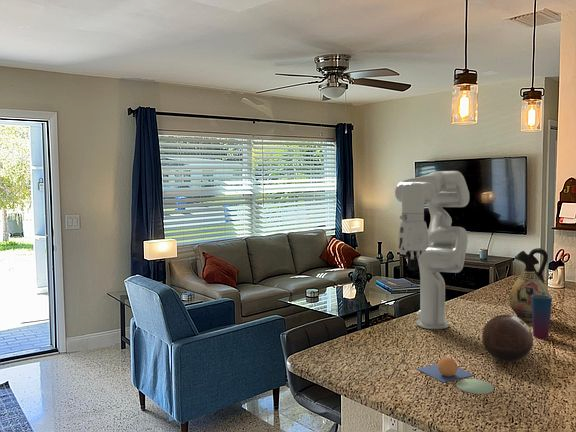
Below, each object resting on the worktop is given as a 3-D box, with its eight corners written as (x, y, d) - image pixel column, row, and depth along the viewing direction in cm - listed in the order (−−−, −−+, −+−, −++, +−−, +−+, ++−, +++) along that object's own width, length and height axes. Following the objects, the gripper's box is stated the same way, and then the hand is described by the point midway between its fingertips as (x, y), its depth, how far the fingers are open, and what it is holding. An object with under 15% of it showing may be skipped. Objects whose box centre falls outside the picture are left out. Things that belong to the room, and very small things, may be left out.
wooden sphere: (535, 372, 153) (536, 323, 152) (482, 366, 159) (482, 319, 157) (530, 355, 167) (530, 311, 166) (481, 351, 173) (482, 308, 172)
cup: (553, 339, 183) (554, 299, 182) (533, 338, 184) (534, 298, 183) (547, 334, 190) (548, 294, 188) (528, 333, 191) (529, 294, 190)
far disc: (448, 383, 146) (448, 382, 146) (474, 377, 150) (474, 376, 150) (474, 396, 137) (474, 396, 137) (501, 389, 141) (501, 388, 141)
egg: (446, 364, 147) (444, 381, 149) (462, 361, 149) (460, 378, 151) (435, 355, 153) (433, 371, 154) (450, 352, 154) (448, 369, 156)
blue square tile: (416, 369, 158) (416, 368, 158) (446, 362, 163) (446, 362, 163) (443, 383, 147) (443, 382, 147) (474, 375, 152) (474, 374, 152)
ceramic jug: (509, 322, 205) (510, 249, 203) (508, 312, 219) (509, 244, 217) (556, 326, 199) (558, 251, 197) (552, 316, 213) (554, 245, 211)
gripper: (402, 219, 171) (402, 273, 172) (436, 217, 177) (436, 269, 178) (388, 218, 177) (389, 270, 179) (422, 216, 184) (422, 266, 185)
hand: (412, 269), depth 179 cm, fingers closed
